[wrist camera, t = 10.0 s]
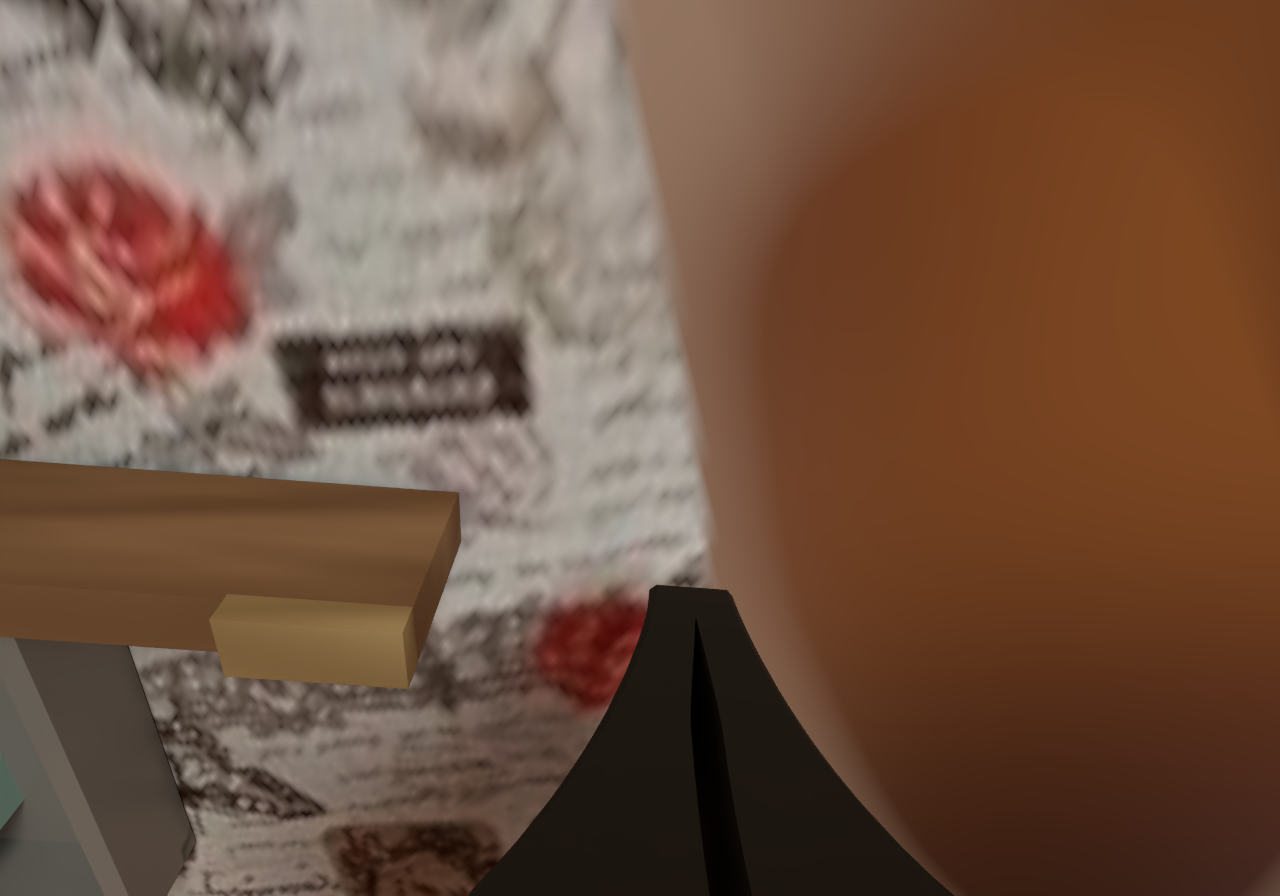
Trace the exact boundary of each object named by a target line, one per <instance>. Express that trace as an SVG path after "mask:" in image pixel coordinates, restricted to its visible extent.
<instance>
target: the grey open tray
mask: <svg viewBox="0 0 1280 896" xmlns="http://www.w3.org/2000/svg"><path fill="white" fill-rule="evenodd" d="M0 752H1V754H2V756H3V758H4V760H5V762H6V764H7V766H8V768H9V770H10V772H11V774H12V776H13V778H14V780H15V782H16V784H17V786H18V788H19V790H20V792H21V794H22V796H23V798H24V800H23V802H22V803H21V804H20V805H19V807H18V808H17V809H16V810H15V812H14V813H13V814H12V816H11V817H10V818H9V819H8V821H7V822H6V823H5V824H4V826H3V827H2V828H1V830H0V896H167V894H168V893H169V891H170V889H171V887H172V885H173V883H174V882H175V880H176V878H177V876H178V874H179V872H180V870H181V869H182V867H183V865H184V863H185V861H186V859H187V858H188V856H189V854H190V852H191V850H192V848H193V847H194V845H195V843H196V841H195V838H194V835H193V833H192V830H191V827H190V824H189V821H188V818H187V815H186V812H185V810H184V807H183V804H182V801H181V798H180V795H179V792H178V789H177V787H176V784H175V781H174V778H173V775H172V772H171V769H170V766H169V764H168V761H167V758H166V755H165V752H164V749H163V746H162V743H161V741H160V738H159V735H158V732H157V729H156V726H155V723H154V720H153V718H152V715H151V712H150V709H149V706H148V703H147V700H146V698H145V695H144V692H143V689H142V686H141V683H140V680H139V677H138V675H137V672H136V669H135V666H134V663H133V660H132V657H131V654H130V652H129V649H128V646H125V645H111V644H96V643H81V642H67V641H52V640H37V639H23V638H8V637H0Z"/></svg>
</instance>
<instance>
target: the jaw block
mask: <svg viewBox="0 0 1280 896" xmlns="http://www.w3.org/2000/svg"><path fill="white" fill-rule="evenodd" d="M23 800H24V798H23V796H22V794H21V792H20V790H19V788H18V786H17V784H16V782H15V780H14V778H13V776H12V774H11V772H10V770H9V768H8V766H7V764H6V762H5V760H4V758H3V756H2V754H1V752H0V830H1V828H2V827H3V826H4V824H5V823H6V822H7V821H8V819H9V818H10V817H11V816H12V814H13V813H14V812H15V810H16V809H17V808H18V807H19V805H20V804H21V803H22V802H23Z"/></svg>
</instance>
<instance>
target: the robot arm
mask: <svg viewBox="0 0 1280 896" xmlns="http://www.w3.org/2000/svg"><path fill="white" fill-rule="evenodd" d="M469 896H954V895H953V894H952V893H951V892H950V891H948V890H947V889H946V888H945V887H944V886H943V885H941V884H940V883H939V882H938V881H937V880H936V879H935V878H933V877H932V876H931V875H930V874H929V873H928V872H927V871H926V870H925V869H924V868H923V867H922V866H921V865H920V864H919V863H918V862H917V861H916V860H915V859H914V858H913V857H912V856H911V855H909V854H908V853H907V852H906V851H905V850H904V849H903V848H902V847H901V846H900V845H899V843H898V842H897V841H896V840H895V839H894V838H893V837H892V836H891V835H890V834H889V833H888V831H886V829H885V828H884V827H883V826H882V825H881V824H880V823H879V822H878V821H877V820H876V819H875V817H874V816H873V815H872V814H871V813H870V812H869V811H868V810H867V809H866V808H865V807H864V806H863V805H862V803H861V802H860V801H859V800H858V799H857V798H856V797H855V795H854V794H853V793H852V792H851V790H850V789H849V788H848V787H847V786H846V784H845V783H844V782H843V781H842V779H841V778H840V777H839V776H838V775H837V773H836V772H835V771H834V770H833V768H832V767H831V766H830V764H829V763H828V762H827V760H826V759H825V758H824V756H823V755H822V754H821V753H820V751H819V750H818V748H817V747H816V746H815V744H814V743H813V742H812V740H811V739H810V737H809V736H808V734H807V733H806V731H805V730H804V729H803V727H802V726H801V724H800V723H799V721H798V720H797V718H796V716H795V715H794V713H793V712H792V710H791V709H790V707H789V706H788V704H787V703H786V701H785V699H784V698H783V696H782V695H781V693H780V691H779V690H778V688H777V686H776V684H775V683H774V681H773V679H772V677H771V675H770V674H769V672H768V670H767V668H766V667H765V665H764V663H763V661H762V660H761V658H760V656H759V654H758V652H757V650H756V648H755V647H754V644H753V642H752V640H751V638H750V636H749V634H748V632H747V630H746V628H745V626H744V623H743V621H742V619H741V617H740V615H739V612H738V610H737V607H736V605H735V603H734V600H733V597H732V595H731V594H730V593H729V592H728V591H727V590H719V589H706V588H692V587H678V586H665V585H656V586H654V587H653V588H651V589H650V590H649V600H648V609H647V614H646V618H645V621H644V625H643V628H642V631H641V634H640V637H639V640H638V643H637V645H636V648H635V651H634V653H633V656H632V658H631V661H630V663H629V666H628V668H627V670H626V673H625V675H624V677H623V679H622V681H621V683H620V685H619V687H618V689H617V691H616V693H615V695H614V698H613V700H612V702H611V704H610V706H609V708H608V710H607V711H606V713H605V715H604V717H603V719H602V721H601V722H600V724H599V726H598V728H597V729H596V731H595V733H594V735H593V736H592V738H591V740H590V741H589V743H588V744H587V746H586V748H585V749H584V751H583V753H582V754H581V756H580V757H579V759H578V760H577V762H576V763H575V765H574V766H573V768H572V769H571V771H570V772H569V774H568V775H567V777H566V778H565V780H564V781H563V783H562V784H561V785H560V787H559V788H558V789H557V791H556V792H555V794H554V795H553V796H552V798H551V799H550V800H549V802H548V803H547V804H546V805H545V807H544V808H543V809H542V810H541V812H540V813H539V814H538V815H537V817H536V818H535V819H534V820H533V822H532V823H531V824H530V825H529V827H528V828H527V829H526V831H525V832H524V833H523V834H522V836H521V837H520V838H519V839H518V840H517V842H516V843H515V844H514V845H513V846H512V847H511V848H510V850H509V851H508V852H507V853H506V854H505V855H504V856H503V857H502V858H501V859H500V860H499V862H498V863H497V864H496V865H495V866H494V867H493V868H492V869H491V870H490V871H489V872H488V873H487V874H486V876H485V877H484V878H483V879H482V880H481V881H480V882H479V883H478V884H477V885H476V886H475V887H474V888H473V890H472V891H471V892H470V894H469Z"/></svg>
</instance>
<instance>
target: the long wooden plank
mask: <svg viewBox="0 0 1280 896" xmlns="http://www.w3.org/2000/svg"><path fill="white" fill-rule="evenodd" d="M460 543H461V527H460V507H459V493H455V492H441V491H428V490H414V489H400V488H386V487H373V486H359V485H345V484H331V483H318V482H304V481H290V480H277V479H263V478H249V477H235V476H222V475H208V474H194V473H180V472H167V471H153V470H139V469H125V468H112V467H98V466H84V465H70V464H57V463H43V462H29V461H16V460H2V459H0V637H8V638H23V639H37V640H52V641H67V642H81V643H96V644H111V645H125V646H140V647H154V648H169V649H184V650H198V651H213V652H218V654H219V658H220V662H221V665H222V669H223V673H224V676H226V677H241V678H255V679H270V680H285V681H300V682H314V683H329V684H344V685H359V686H374V687H388V688H403V689H408V688H409V686H410V683H411V680H412V677H413V674H414V672H415V669H416V666H417V663H418V659H419V657H420V654H421V651H422V648H423V646H424V643H425V640H426V637H427V634H428V632H429V629H430V626H431V623H432V621H433V618H434V615H435V612H436V609H437V607H438V604H439V601H440V598H441V596H442V593H443V590H444V587H445V584H446V582H447V579H448V576H449V573H450V570H451V568H452V565H453V562H454V559H455V557H456V554H457V551H458V548H459V545H460Z"/></svg>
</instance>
